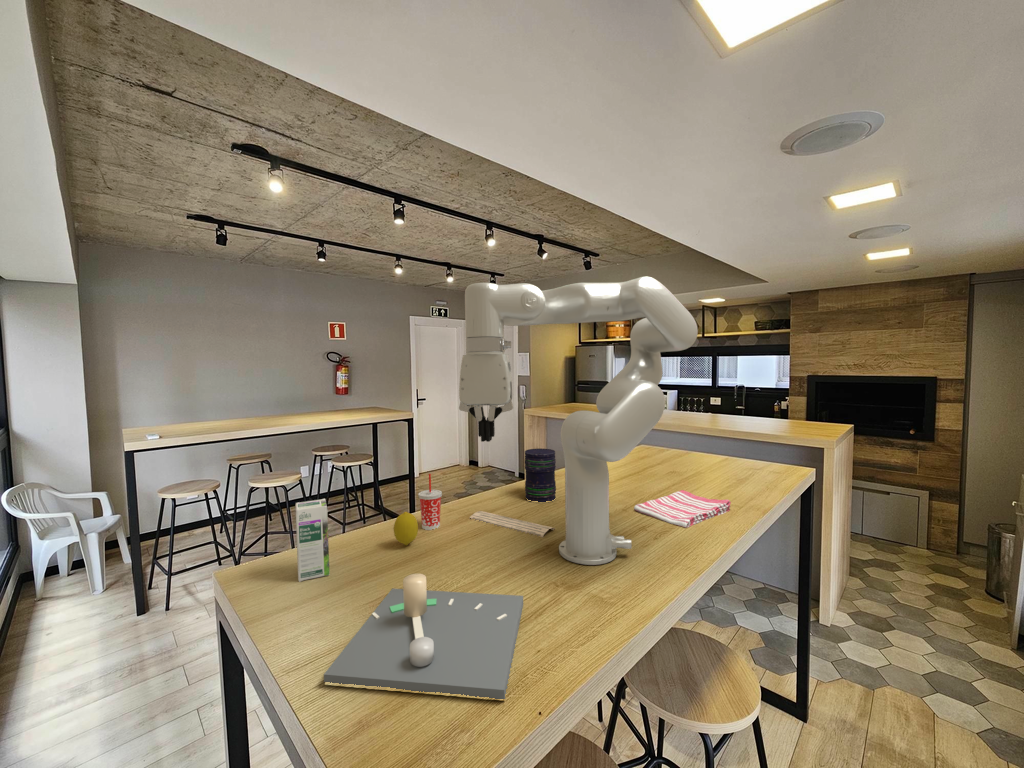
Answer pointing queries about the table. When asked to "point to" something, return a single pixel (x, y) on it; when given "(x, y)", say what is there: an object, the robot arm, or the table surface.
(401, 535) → the lemon
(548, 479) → the storage jar
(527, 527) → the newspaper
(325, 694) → the table surface
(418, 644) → the tuning lever
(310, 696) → the table surface
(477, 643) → the dial board
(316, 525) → the syrup box
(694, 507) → the dish towel
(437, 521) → the beverage cup
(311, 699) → the table surface
